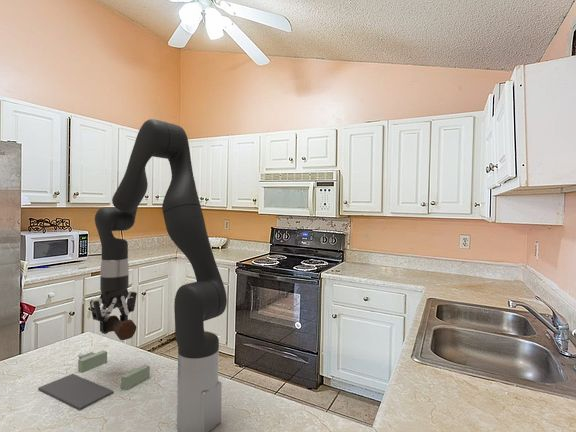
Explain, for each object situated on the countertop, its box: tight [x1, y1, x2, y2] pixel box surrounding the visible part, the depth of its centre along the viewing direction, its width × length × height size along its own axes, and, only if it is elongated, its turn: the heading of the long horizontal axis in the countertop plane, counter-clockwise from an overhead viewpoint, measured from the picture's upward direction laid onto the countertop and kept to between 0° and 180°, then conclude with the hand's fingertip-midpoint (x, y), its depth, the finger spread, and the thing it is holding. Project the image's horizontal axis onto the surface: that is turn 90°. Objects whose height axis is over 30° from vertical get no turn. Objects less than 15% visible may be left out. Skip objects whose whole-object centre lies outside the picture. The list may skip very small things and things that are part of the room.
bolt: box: [107, 315, 137, 341], centre depth 99 cm, size 6×5×15 cm
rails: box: [77, 349, 151, 391], centre depth 101 cm, size 28×8×4 cm, turn 62°
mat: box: [37, 373, 115, 411], centre depth 90 cm, size 19×9×1 cm, turn 62°
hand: (114, 329), depth 100 cm, fingers closed on bolt, 5 cm apart
